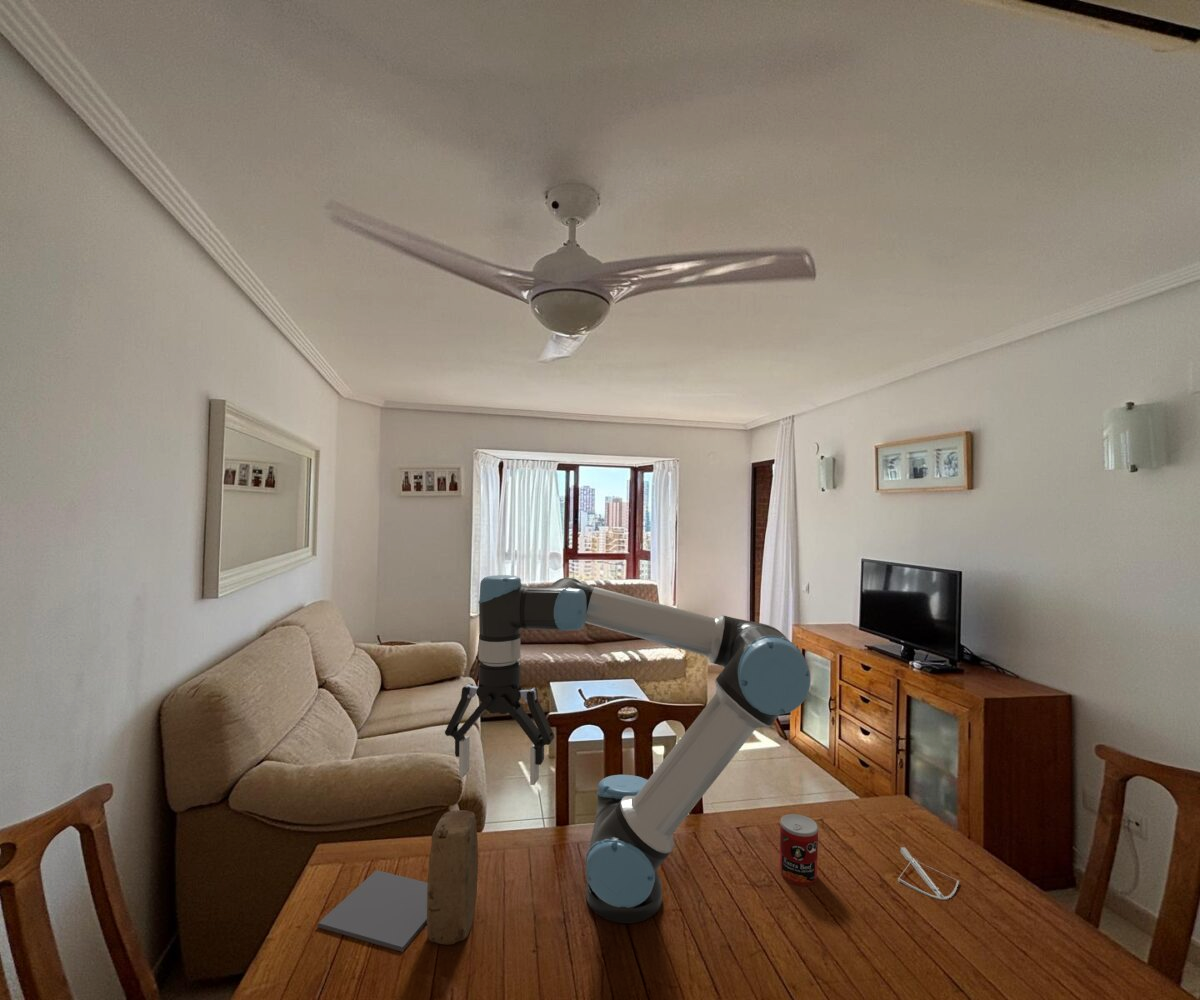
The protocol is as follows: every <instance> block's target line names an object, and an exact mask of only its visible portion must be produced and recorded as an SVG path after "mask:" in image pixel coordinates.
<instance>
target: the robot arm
mask: <svg viewBox="0 0 1200 1000" xmlns="http://www.w3.org/2000/svg"><path fill="white" fill-rule="evenodd" d="M479 583H480V584H479V598H478V621H479V622H478V627H479V629H478V630H479V631H478V634H479V635H478V636H479V637H478V660H479V661H480V662H479V664H478V686H474V684H473V683H472V682H468V683H467V684H466V685H464V686H463V687H462V688H461V695H460V699H459V702H458V704H457V705H456V708H455V711H454V712H453V714H452V716H451V719H450V721H449V722H448V723H447V726H446V727H445V728H446V729H445V731H444V734H445V736H446V737H452V738H453V739H454V755H455V757H456V758H458V761H459V762H458V765H459V766H458V778H464V777H465V776H466V775H467V774H468V773H469V772H470V735H466V734H467V732H469V730H470V729H471V728H473V727H472V726H474V724H476V722H477V721H478V720H479V718H480V717H481V716H482V715H483V714H484V713H485V711H487V712H489V713H490V714H497V713H498V714H500V715H506V714H509V716H510V717H511V718H513V719H514V720H515V721H516V722H517V724H518V725H519V726H520V728H521V729H522V730H523V732H524V733H525V734H526V735H527V737H528V739H529V740H530V742H531V743H532V745H531V746H530V748H529V749H530V751H529V754H530V756H529V757H530V758H529V759H530V760H529V761H530V762H529V763H530V766H529V767H530V769H529V774H530V775H529V777H530V778H529V779H530V780H529V785H530V786H535V785H536V783H537V781H539V780H540V766H541V765H542V764H543V762H544V760H545V746H546V745H547V746H550V744H551V743H552V742H553V741H554V739H555V734H554V731H553V730H552V728H551V725H550V723H549V720H548V719H547V716H546V714H545V712H544V710H543V707H542V705H541V702H540V701H539V696H538V695H539V694H538V689H537V688H536V687H532V688H530V689H522V687H521V662H520V660H519V659H521V630H539V631H540V630H543V631H561V632H568V631H581V630H582V629H583V628H584V627H585V625H586V624H588V625H592V626H596V627H599V628H603V629H606V630H611V631H612V632H613V631H614V632H618V633H621V634H624V635H629V636H632V637H636V638H640V639H643V640H647V641H650V642H654V643H658V644H660V645H661V644H662V645H665V646H668V647H672V648H676V649H678V650H679V649H680V650H683V651H687V652H690V653H693V654H698V655H701V656H704V657H706V658H708V660H709V662H710V663H711V664H713V665H718V666H721V667H724V668H723V669H722V670H721V672H720V673H719V674H718V676H717V677H716V678H715V680H714V682H715V689H716V690H715V694H714V695H713V697H712V698H711V700H709V701H708V703H707V704H706V706H704V708H703V709H702V710H701V712H700V713H699V714H698V716H697V717H696V718H695V720H694V721H693V722H692V723H691V724H690V726H689V727H688V729H687V730H686V731H685V732H684V734H683V735H682V736H681V737H680V739H679V740H678V741H677V743H675V745H674V746H673V748H672V749H671V750H670V751H669V753H668V754H667V755H666V757H665V758H664V759H663V760H662V761H661V762H660V764H659V765H658V767H657V768H656V769H655V771H654V772H653V773H652V774H651V775H650V777H649V778H648V779H647V778H643V777H642V776H637V775H631V774H614V775H609V776H605V778H602V779H601V780H600V781H599V782H598V785H597V792H596V796H597V801H596V802H597V803H596V805H597V806H596V808H597V809H596V814H595V819H594V824H593V829H592V835H591V838H590V844H589V849H587V850H588V851H587V853H586V857H585V863H586V866H585V872H586V873H585V874H586V879H587V881H586V887H585V888H586V890H585V891H586V894H585V895H586V896H585V897H586V901H587V904H588V906H589V908H591V910H592V911H593V912H594V913H595V914H596V915H598V916H600V917H601V918H603V919H605V920H608V921H611V922H614V923H620V924H635V923H639V922H640V923H641V922H643V921H645V920H648V919H649V918H651V917H653V916H654V915H656V913H658V912H659V909H660V908H661V906H662V900H663V898H662V896H663V888H662V883H661V879H660V875H659V872H658V869H659V867H661V865H662V864H663V862H664V861H666V859H667V857H668V856H669V855H670V854H671V852H672V851H673V849H674V846H675V843H674V836H673V835H674V833H675V832H676V831H677V829H678V828H679V826H680V825H681V824H682V823H683V821H684V820H685V819H686V818H687V816H688V815H689V813H691V812H692V810H693V809H694V807H695V806H696V805H697V804H698V803H699V801H700V800H701V799H702V797H703V796H705V794H706V792H707V791H708V790H709V789H710V787H711V786H712V784H714V782H715V781H716V780H717V778H718V777H719V776H720V775H721V773H722V772H723V771H724V770H725V768H726V767H727V766H728V764H729V763H730V762H731V761H732V760H733V759H734V757H735V756H736V754H737V753H738V752H739V751H740V749H742V747H743V746H744V745H745V744H746V742H747V741H748V739H749V738H750V737H751V735H752V734H753V733H754V732H755V730H756V729H759V728H760V729H761V728H771V726H772V725H773V724H774V722H776V720H777V719H778V717H779V716H780V715H784V714H785V715H786V714H789V713H791V712H793V711H795V710H797V708H799V707H800V706H801V705H802V704H803V703H804V701H805V700H806V698H807V696H808V694H809V690H810V687H811V671H810V668H809V665H808V663H807V660H806V658H805V656H804V654H803V653H802V652H801V650H800V649H799V648H798V647H797V646H796V644H794V643H793V642H792V641H791V640H789V639H788V638H787V637H786V635H784V634H783V633H782V632H781V631H780V630H779V629H777V628H776V627H773V626H772V625H769V624H765V623H762V622H761V623H760V622H757V621H756V622H755V621H751V620H746V619H740V618H736V617H731V616H728V615H724V614H721V615H719V616H717V617H711V616H708V615H704V614H700V613H695V612H692V611H688V610H684V609H681V608H677V607H672V606H669V605H666V604H661V603H658V602H654V601H652V600H651V601H650V600H646V599H643V598H638V597H635V596H632V595H628V594H624V593H620V592H616V591H612V590H608V589H605V588H601V587H597V586H592V585H590V584H585V583H582V581H580V580H578V579H576V578H574V577H565V578H560V579H557V580H556V581H554V582H553V583H552V585H550V586H549V587H526V586H523V584H522V580H521V578H520V577H519V576H517V575H510V574H509V575H508V574H497V575H489V576H485V577H483V578H482V579H481V581H480V582H479ZM475 696H477V697H478V699H479V701H480V703H479V705H478V707H476V709H474V711H473V712H472V714H471V715H470V716H469V717H468V719H466V721H465V722H464V723H463V724H462V726H461V727H460V728H459V725H460V723H461V721H462V720H463V717H464V715H465V713H466V711H467V709H468V708H469V706H470V705H469V704H470V703H471V701H472V699H473V698H475ZM521 698H523V700H524V702H525V703H527V706H528V709H529V712H530V713H531V716H532V718H533V720H532V719H531V718H530V716H529V715H528V713H527V712H526V711H525V709H524V706H523V704H522V703H521V702H520V700H521Z"/></svg>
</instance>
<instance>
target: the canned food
mask: <svg viewBox="0 0 1200 1000" xmlns="http://www.w3.org/2000/svg"><path fill="white" fill-rule="evenodd" d="M779 825H780V828H779V831H780V832H779V833H780V834H779V871H780V874H781V876H782V877H783V878H784V879H785V880H786V881H788V882H789V883H792V884H794V885H798V886H811V885H812V884H814V883H815V882H816V879H817V877H818V852H819V851H818V848H819V847H818V846H819V843H818V842H819V828H818V827H819V826H818V823H817V822H816V821H815V820H814V819H812V818H811V817H808V816H805V815H803V814H800V813H799V814H796V813H788V814H785V815H783V816H781V818H780V824H779Z"/></svg>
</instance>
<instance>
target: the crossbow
mask: <svg viewBox="0 0 1200 1000" xmlns="http://www.w3.org/2000/svg"><path fill="white" fill-rule="evenodd" d="M900 853H901V855H902V856H903V857H904V858H905V860H906V861H908V865H906V867H905V868H904V870H903V872H901V874H900V876H899V877H897V882H899V883H900V884H903V885H905V886H907V887H908V888H910V889H913V890H914V891H916V892H917V893H918V892H919V893H921V894H924V895H925V896H928V897H930V898H934V899H937V900H940V901H942V900H943V901H947V900H950V899H951V898H953V896H954V895H955V893H956V892H957V891H958V888H957V887H959V885H960V880H959V879H956V878H954V877H952V876H949V875H948V874H945V873H944V872H941V871H939V870H936V869H935V868H933V867H931V866H929V865H926V864H925V863H922V862H920V861H918V860H916V858H915V857H913V856H912V855H911V853H910V851H909V850H908V849H907V847H906V846H905V847H904V846H903V847H900ZM920 864H922V865H923V866H926V867H928V868H929V869H932V870H934V871H936V872H938V873H941V874H942V875H945V876H947V877H948V878H951V879H954V880H955V881H956V883H955V887H954V888H953V890H952V892H951V893H950V894H949V895H947V896H946V895H945V896H944V895H943V893H942V892H941V891H940V888H939V887H937V886H936V884H935V883H934V882H933V881H932V879H931V878H930V877H929V875H928V874H927V873H926V872H925V870H924V869H923V868H922V867H923V866H921V865H920ZM909 865H911V866H912V867H913V868H914V869H915V871H916V872H917V874H918V875H919V876H920V877H921V878H922V880H923V881H924V882H925V884H927V885H928V887H929V888H930V889H931V890H932V892H933V893H934V894H935V895H933V894H930V893H929V892H926V891H924V890H923V889H919V888H918V887H916V886H914V885H912V884H909V883H908V882H906V881H905V880H903V879H901V877H902V875H903V874H904V872H906V870H907V869H908V867H909ZM949 898H950V899H949Z"/></svg>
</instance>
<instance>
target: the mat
mask: <svg viewBox="0 0 1200 1000" xmlns="http://www.w3.org/2000/svg"><path fill="white" fill-rule="evenodd" d="M427 889H428V881H427V882H426V881H422V880H418V879H415V878H410V877H407V876H406V877H405V876H401V875H398V874H395V873H394V874H393V873H390V872H386V871H381V870H378V869H376V870H375V871H374V872H372V874H370V875H369V876H368V877H367V878H366V879H364V881H362V882H361V883H360V884H359V885H358V886H357V887H356V888H355V889H354V890H352V892H350V893H349V894H348V895H347V896H346V897H345V898H344V899H342V900H341V901H340V902H339V903H338V905H336V906H335V907H334V908H333V909H332V910H331V911H330V912H328V913H327V914H326V915H325V916H324V917H323V918H322V919H321V920H320V921H319V922H318V924H317V928H319V929H322V930H326V931H330V932H333V933H336V934H339V935H343V936H346V937H349V938H354V939H357V940H360V941H364V942H367V943H370V944H373V945H374V944H375V945H378V946H380V947H381V946H382V947H384V948H389V949H391V950H395V951H399V952H401V953H403V952H404V951H405V949H407V948H408V946H410V944H411V943H412V942H413V940H414V939H415V938H416V937H417V935H418V934H419V933H420V932H421V931H422V930H423V928H424V927H425V926H427Z"/></svg>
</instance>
